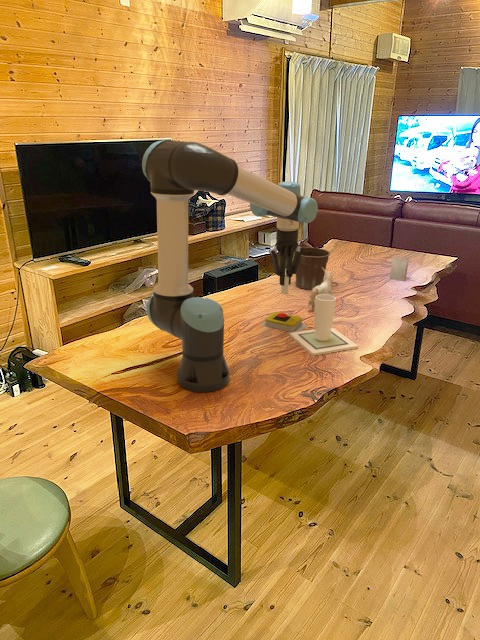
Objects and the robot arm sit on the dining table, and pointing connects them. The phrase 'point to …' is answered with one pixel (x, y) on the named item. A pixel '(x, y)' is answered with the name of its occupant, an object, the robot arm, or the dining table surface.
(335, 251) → the dining table surface
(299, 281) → the plant pot
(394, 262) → the tea bag
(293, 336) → the picture board
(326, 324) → the drinking glass
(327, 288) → the unicorn figurine
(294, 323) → the emergency button
